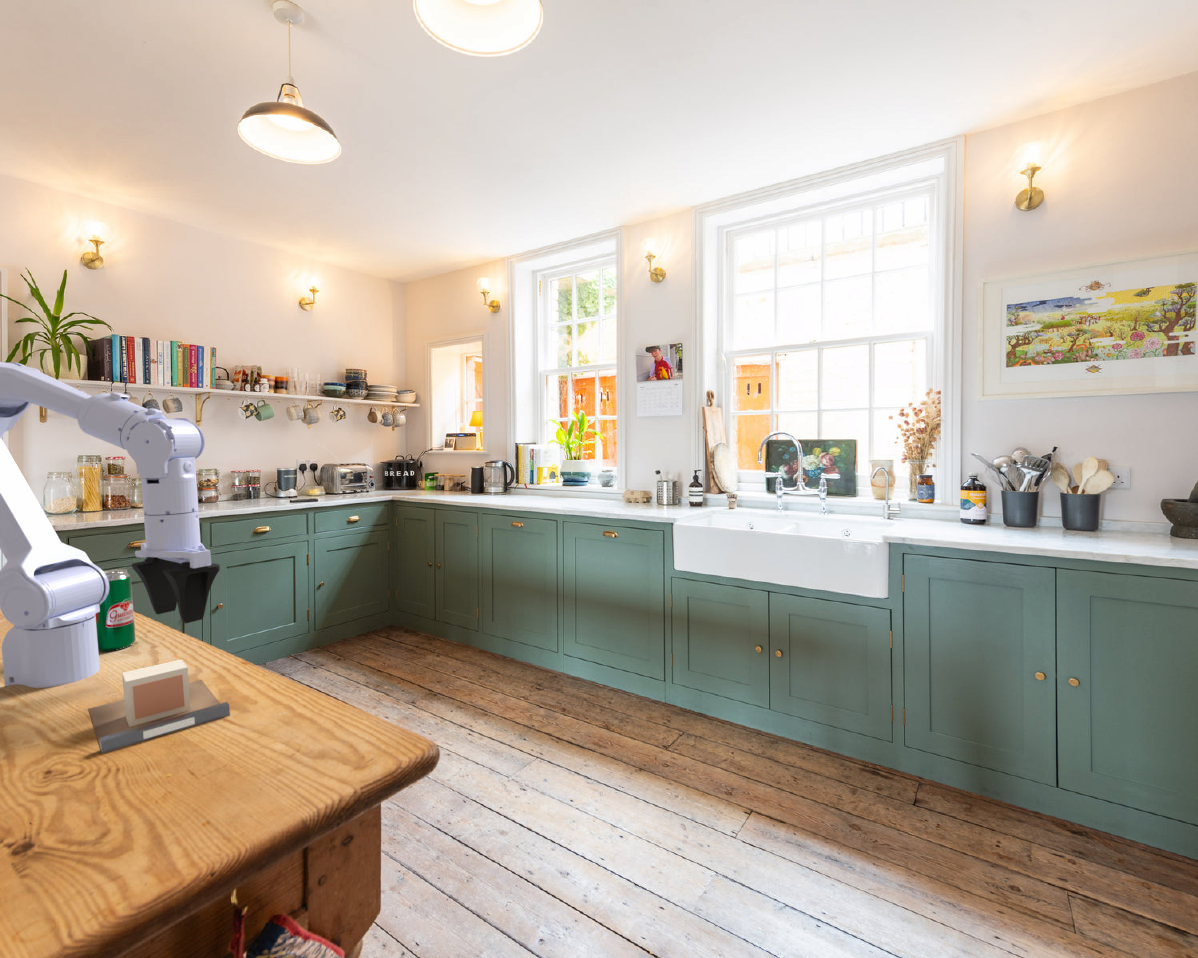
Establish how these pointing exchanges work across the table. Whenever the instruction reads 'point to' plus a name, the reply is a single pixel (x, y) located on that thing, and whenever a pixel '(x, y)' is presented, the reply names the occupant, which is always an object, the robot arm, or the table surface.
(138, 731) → the rail
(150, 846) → the table surface
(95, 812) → the table surface
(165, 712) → the carton
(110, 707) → the shelf board
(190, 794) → the table surface
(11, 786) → the table surface
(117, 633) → the soda can
